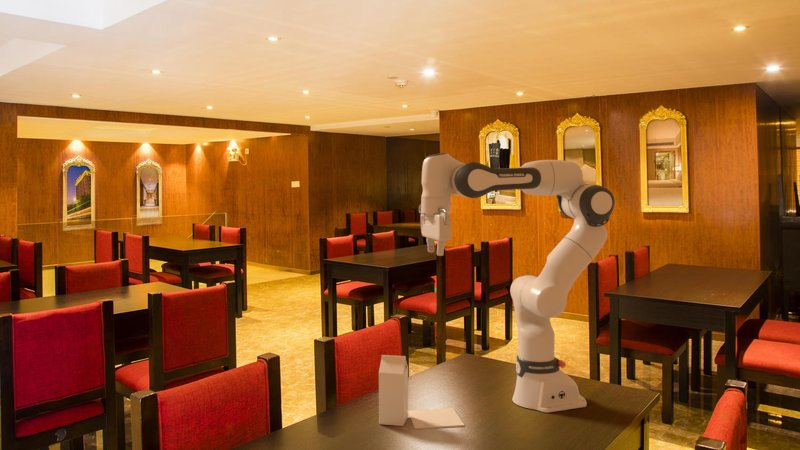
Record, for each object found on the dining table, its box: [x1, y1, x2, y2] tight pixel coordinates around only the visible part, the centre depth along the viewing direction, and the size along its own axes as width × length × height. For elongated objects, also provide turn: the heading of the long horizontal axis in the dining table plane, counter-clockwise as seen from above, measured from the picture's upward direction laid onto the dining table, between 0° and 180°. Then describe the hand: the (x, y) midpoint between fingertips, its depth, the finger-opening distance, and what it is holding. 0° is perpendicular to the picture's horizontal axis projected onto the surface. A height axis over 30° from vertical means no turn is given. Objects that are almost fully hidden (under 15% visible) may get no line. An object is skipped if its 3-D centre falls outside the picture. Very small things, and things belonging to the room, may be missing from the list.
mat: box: [408, 407, 465, 430], centre depth 169 cm, size 14×13×1 cm
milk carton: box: [378, 354, 409, 427], centre depth 167 cm, size 7×7×19 cm
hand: (435, 253), depth 174 cm, fingers open, 8 cm apart
